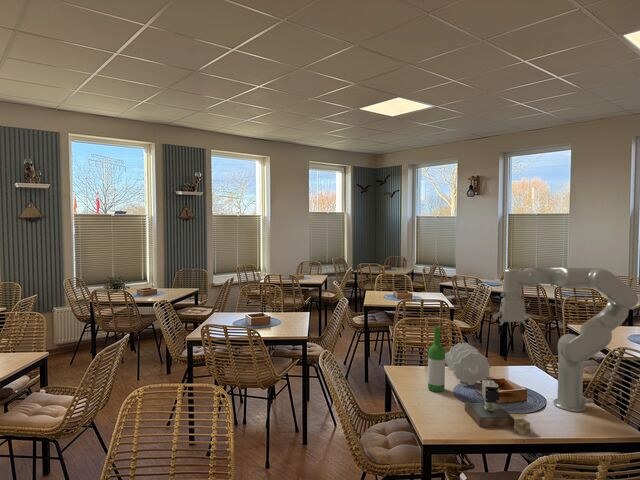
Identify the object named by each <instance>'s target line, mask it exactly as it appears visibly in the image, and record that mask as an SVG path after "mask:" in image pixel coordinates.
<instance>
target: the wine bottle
mask: <svg viewBox="0 0 640 480" xmlns="http://www.w3.org/2000/svg"><path fill="white" fill-rule="evenodd" d="M445 353H446V350H445V348H444V347H443V345H442V344H441V327H439V326H436V327H434V328H433V344H431V346H429V348H428V356H427V357H428V360H427V362H428V363H427V365H428V366H427V369H428V370H427V388H428V390H430V391H432V392H434V393H441V392H443V391H445V382H446V381H445V379H446V378H445V377H446V374H445V373H446V363H445V361H446V360H445Z"/></svg>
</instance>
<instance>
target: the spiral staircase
mask: <svg viewBox="0 0 640 480" xmlns="http://www.w3.org/2000/svg"><path fill="white" fill-rule="evenodd" d="M445 365H447V367H448V368H449V370H450V371H452V372H453V374H454V376H455V377H456V378H458V379H459V382H461V383H464V384H467V386H468V385H470V386H473V385H476V384H475V383H476V382H477V381H481V380H488V377H490V368H491V364H490V363H489V362H488V357H485V356H484V355H483V354H481V352H479V349H477V348H476V347H475V346H473V345H470V344H469V342H465V343H461V342H460V341H459V342H458V343H457V344H455V345H454V346H452V345H451V347H450V350H449V351H447V352H445Z"/></svg>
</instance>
